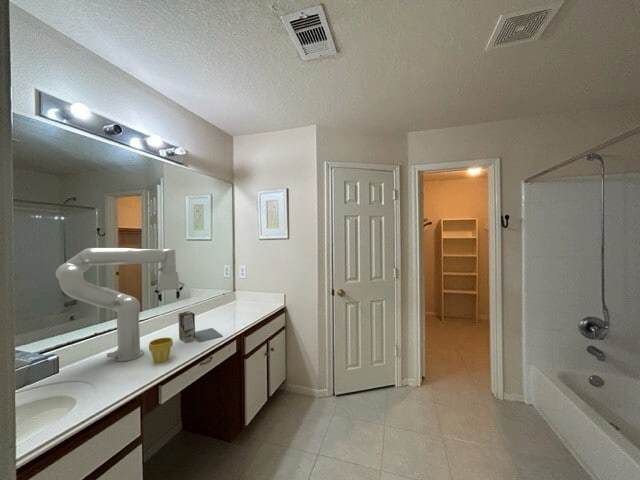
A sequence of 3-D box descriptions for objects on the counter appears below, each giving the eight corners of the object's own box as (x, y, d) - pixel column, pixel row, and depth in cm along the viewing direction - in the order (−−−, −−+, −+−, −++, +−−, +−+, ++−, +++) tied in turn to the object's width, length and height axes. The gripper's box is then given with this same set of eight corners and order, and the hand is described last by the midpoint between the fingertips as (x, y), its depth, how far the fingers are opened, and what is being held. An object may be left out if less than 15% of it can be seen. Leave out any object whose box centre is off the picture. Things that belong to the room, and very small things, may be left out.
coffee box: (195, 340, 162) (194, 313, 162) (184, 343, 158) (183, 315, 157) (189, 336, 169) (188, 310, 168) (178, 339, 164) (177, 313, 164)
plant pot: (177, 358, 138) (176, 339, 138) (156, 366, 129) (155, 346, 129) (165, 354, 143) (165, 335, 143) (145, 362, 134) (144, 342, 134)
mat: (199, 342, 158) (199, 341, 158) (190, 333, 173) (189, 333, 173) (222, 336, 167) (222, 335, 167) (212, 328, 182) (212, 327, 182)
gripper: (152, 271, 148) (152, 303, 149) (186, 269, 160) (187, 298, 160) (150, 270, 154) (150, 301, 154) (183, 268, 165) (183, 296, 165)
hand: (169, 299), depth 157 cm, fingers open, 8 cm apart
